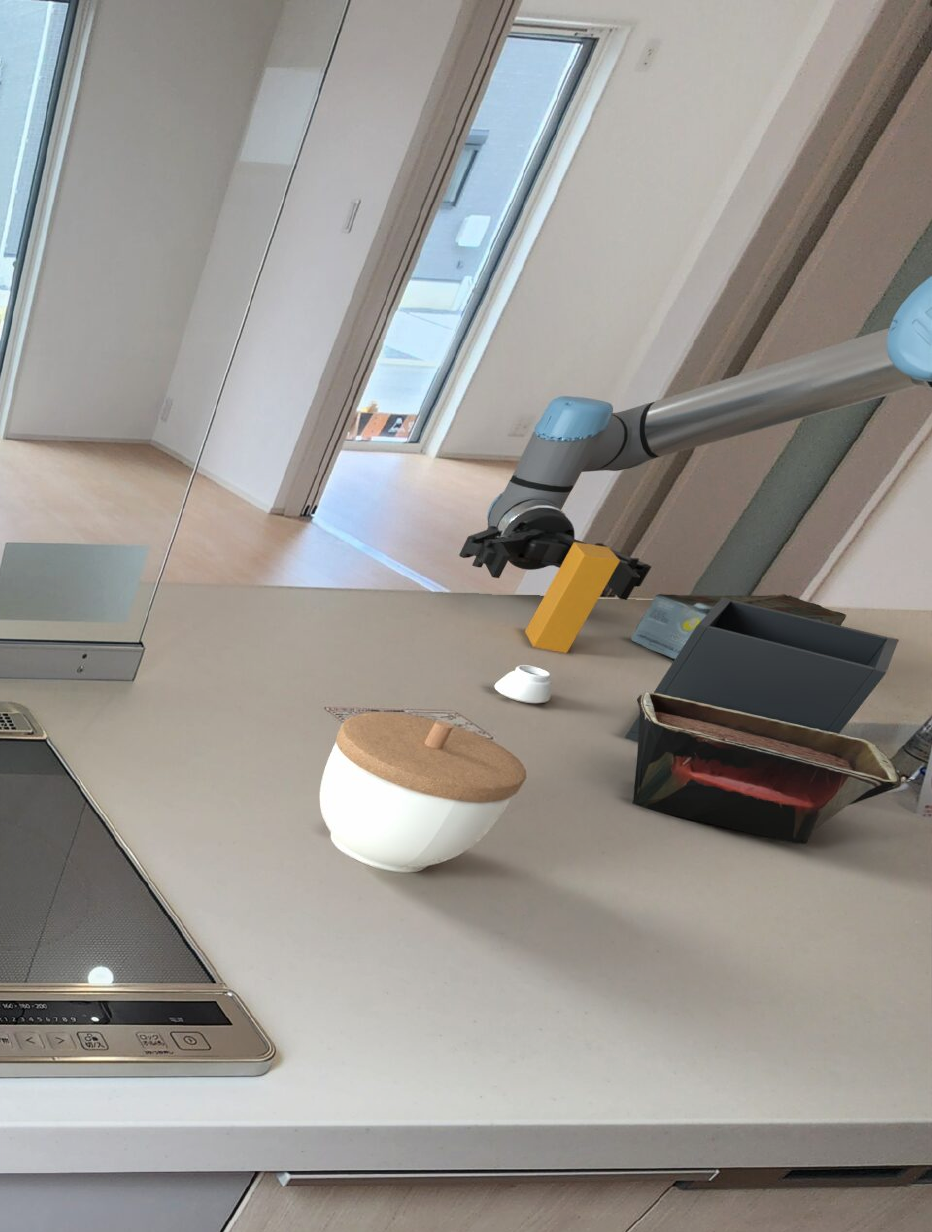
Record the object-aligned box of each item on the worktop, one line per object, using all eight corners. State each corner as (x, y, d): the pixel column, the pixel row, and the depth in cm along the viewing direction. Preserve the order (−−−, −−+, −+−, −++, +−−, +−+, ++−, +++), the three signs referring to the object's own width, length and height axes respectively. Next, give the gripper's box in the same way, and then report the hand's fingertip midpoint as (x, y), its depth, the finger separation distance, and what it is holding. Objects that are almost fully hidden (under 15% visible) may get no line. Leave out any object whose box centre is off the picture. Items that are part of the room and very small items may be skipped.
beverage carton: (624, 638, 132) (656, 586, 128) (757, 642, 134) (792, 590, 131) (678, 664, 126) (713, 609, 122) (817, 667, 128) (856, 613, 124)
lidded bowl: (431, 821, 90) (498, 701, 84) (493, 903, 80) (575, 774, 74) (277, 800, 92) (331, 680, 85) (319, 878, 82) (384, 749, 75)
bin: (812, 751, 107) (899, 639, 100) (794, 791, 100) (886, 672, 93) (652, 704, 115) (722, 597, 108) (624, 738, 107) (697, 624, 100)
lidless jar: (482, 689, 116) (524, 708, 112) (496, 663, 114) (539, 682, 110) (514, 685, 117) (557, 704, 113) (528, 659, 115) (572, 678, 112)
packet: (557, 637, 131) (608, 547, 125) (566, 653, 127) (620, 560, 120) (524, 631, 132) (574, 541, 126) (533, 647, 128) (584, 554, 121)
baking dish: (607, 766, 106) (647, 671, 101) (856, 807, 96) (916, 703, 90) (586, 828, 98) (628, 727, 92) (857, 880, 87) (923, 770, 82)
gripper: (625, 580, 144) (666, 628, 128) (420, 546, 152) (435, 588, 136) (658, 523, 140) (705, 565, 124) (445, 491, 147) (464, 527, 131)
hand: (564, 577), depth 130 cm, fingers open, 13 cm apart
